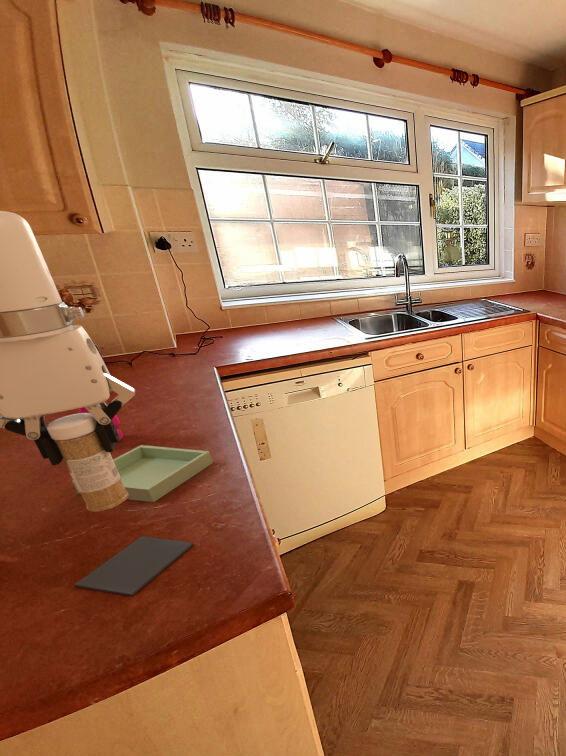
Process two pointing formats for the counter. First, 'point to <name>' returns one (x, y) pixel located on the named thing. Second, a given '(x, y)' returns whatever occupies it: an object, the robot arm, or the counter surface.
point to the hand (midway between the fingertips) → (85, 452)
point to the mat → (134, 566)
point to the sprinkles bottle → (88, 461)
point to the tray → (157, 470)
